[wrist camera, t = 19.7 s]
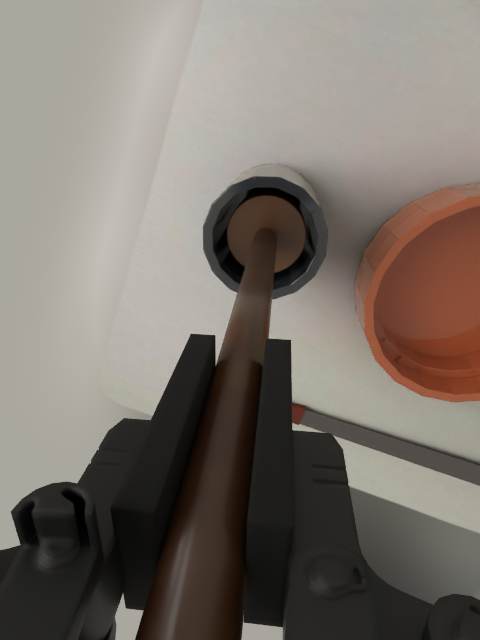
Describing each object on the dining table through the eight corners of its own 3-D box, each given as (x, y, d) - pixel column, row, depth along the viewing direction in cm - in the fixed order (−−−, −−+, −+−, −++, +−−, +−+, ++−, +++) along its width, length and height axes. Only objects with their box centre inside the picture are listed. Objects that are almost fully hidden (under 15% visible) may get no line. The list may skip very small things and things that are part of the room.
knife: (521, 496, 48) (523, 500, 47) (228, 401, 46) (228, 404, 46) (535, 480, 46) (537, 484, 46) (235, 382, 45) (235, 385, 45)
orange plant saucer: (315, 276, 39) (319, 300, 34) (488, 134, 33) (528, 136, 28) (424, 396, 44) (444, 434, 38) (597, 290, 37) (650, 318, 32)
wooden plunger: (216, 218, 32) (-218, 797, 4) (278, 174, 30) (188, 694, 3) (257, 277, 33) (123, 960, 6) (319, 238, 32) (515, 967, 4)
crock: (204, 211, 38) (178, 238, 29) (273, 141, 35) (268, 146, 26) (266, 276, 40) (260, 321, 31) (337, 216, 37) (353, 245, 28)
